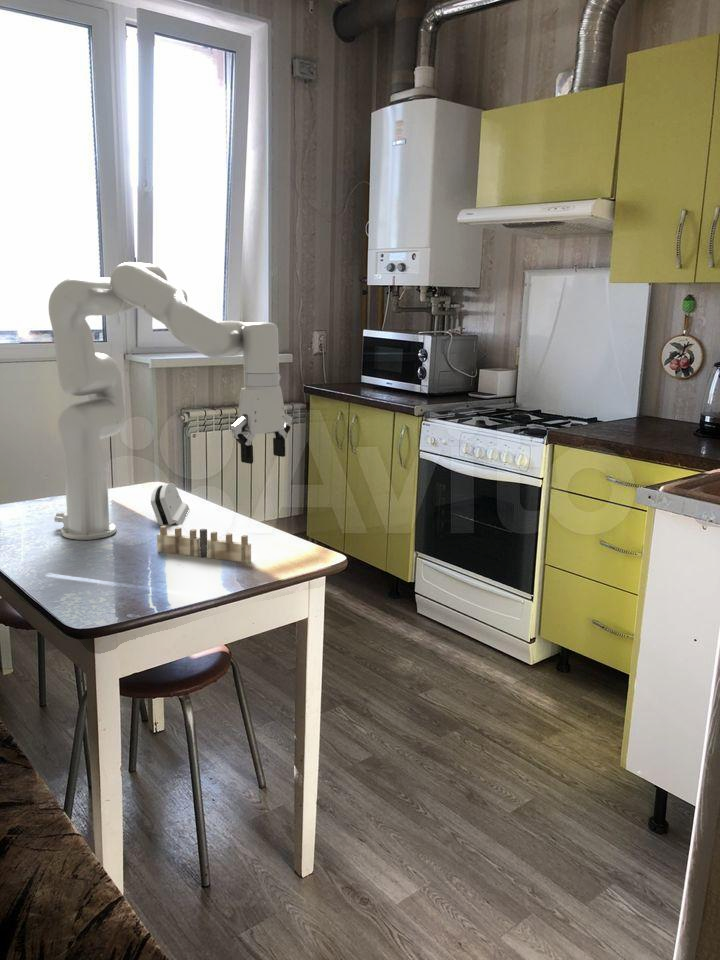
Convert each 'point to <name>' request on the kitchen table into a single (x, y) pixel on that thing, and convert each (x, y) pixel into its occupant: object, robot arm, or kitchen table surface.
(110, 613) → the kitchen table surface
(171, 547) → the fence fixed
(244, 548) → the fence flap
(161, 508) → the black-banded white body
